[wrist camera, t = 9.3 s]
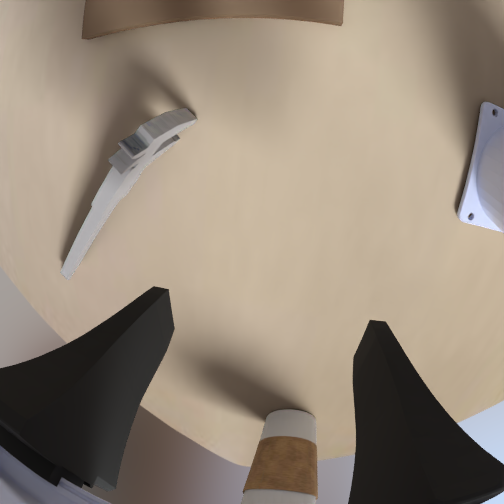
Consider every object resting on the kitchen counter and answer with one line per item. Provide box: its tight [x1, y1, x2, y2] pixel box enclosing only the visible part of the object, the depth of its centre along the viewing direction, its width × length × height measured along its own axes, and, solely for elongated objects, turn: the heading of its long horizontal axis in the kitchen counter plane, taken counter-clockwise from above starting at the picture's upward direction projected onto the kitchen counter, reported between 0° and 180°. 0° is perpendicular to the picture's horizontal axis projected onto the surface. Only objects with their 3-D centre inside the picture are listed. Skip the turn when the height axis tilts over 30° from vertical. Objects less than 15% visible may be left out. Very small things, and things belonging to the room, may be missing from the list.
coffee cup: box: [241, 409, 318, 504], centre depth 24 cm, size 8×8×15 cm
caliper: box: [60, 108, 197, 280], centre depth 18 cm, size 20×1×6 cm, turn 133°
